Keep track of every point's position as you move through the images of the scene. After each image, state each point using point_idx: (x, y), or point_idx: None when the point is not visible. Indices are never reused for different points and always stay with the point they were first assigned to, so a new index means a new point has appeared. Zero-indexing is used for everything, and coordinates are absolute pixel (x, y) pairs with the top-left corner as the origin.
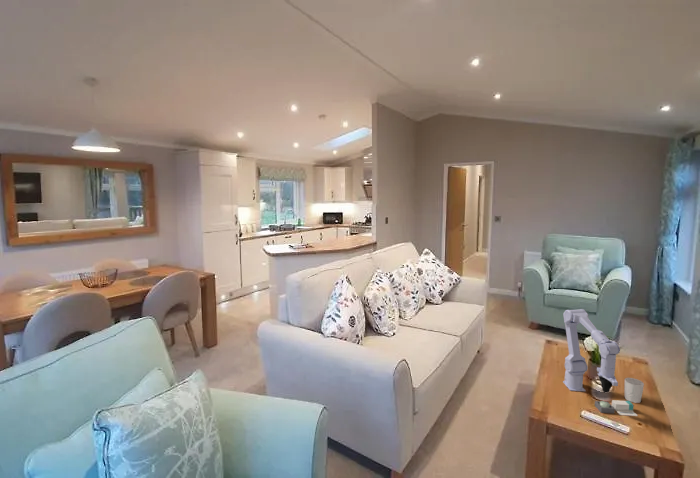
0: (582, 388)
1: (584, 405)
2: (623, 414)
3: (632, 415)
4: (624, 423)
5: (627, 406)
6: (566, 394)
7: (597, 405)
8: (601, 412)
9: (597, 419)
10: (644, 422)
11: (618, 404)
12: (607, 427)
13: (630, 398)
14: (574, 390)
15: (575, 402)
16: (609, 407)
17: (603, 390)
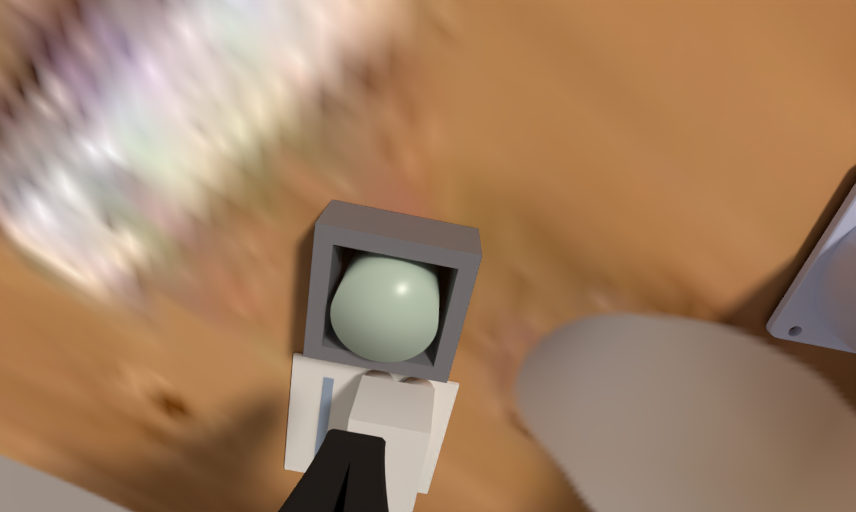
0: (825, 332)
1: (499, 99)
2: (297, 384)
3: (287, 437)
4: (152, 295)
5: None
6: (824, 18)
7: (414, 231)
8: (331, 204)
9: (181, 45)
10: (198, 450)
11: None
12: (22, 53)
13: None
14: (842, 207)
15: (593, 12)
16: None
17: (336, 452)
